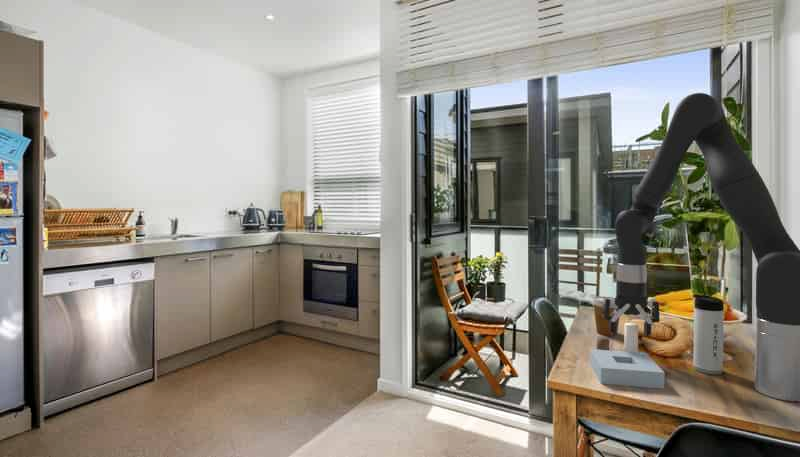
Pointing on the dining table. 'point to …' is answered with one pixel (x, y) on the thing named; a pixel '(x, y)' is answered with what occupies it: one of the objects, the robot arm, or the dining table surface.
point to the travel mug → (708, 334)
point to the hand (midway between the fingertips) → (629, 334)
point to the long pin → (631, 337)
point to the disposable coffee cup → (601, 322)
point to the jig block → (626, 368)
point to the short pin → (602, 343)
